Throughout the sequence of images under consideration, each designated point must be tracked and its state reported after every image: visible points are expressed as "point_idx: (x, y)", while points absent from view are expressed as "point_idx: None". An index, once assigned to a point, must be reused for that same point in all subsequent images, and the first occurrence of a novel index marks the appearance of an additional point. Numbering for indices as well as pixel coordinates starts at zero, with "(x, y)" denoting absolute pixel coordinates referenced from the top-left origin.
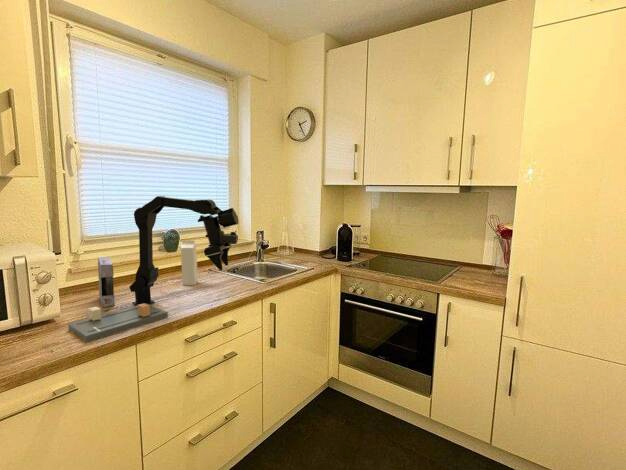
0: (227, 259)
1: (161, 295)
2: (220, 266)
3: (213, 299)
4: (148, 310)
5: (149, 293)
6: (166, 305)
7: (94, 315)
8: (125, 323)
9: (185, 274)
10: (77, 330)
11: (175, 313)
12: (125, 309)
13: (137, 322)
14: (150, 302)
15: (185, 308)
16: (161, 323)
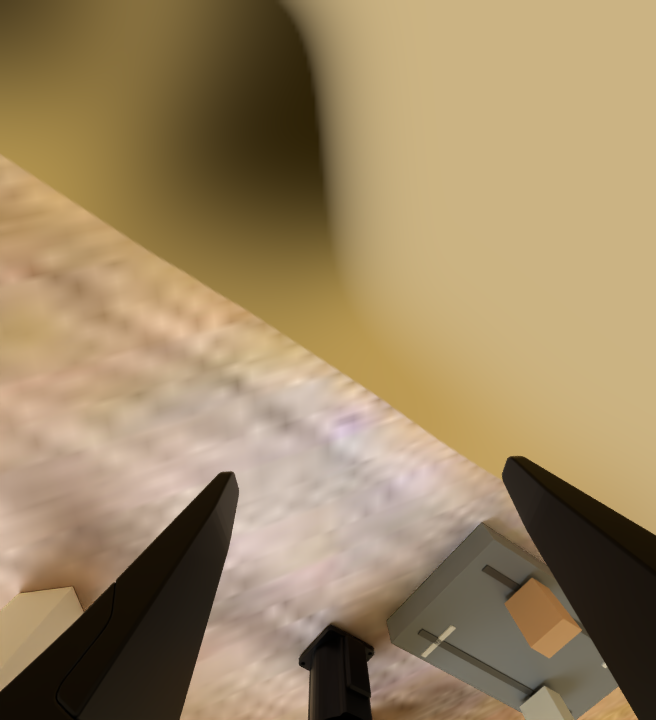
0: (195, 536)
1: (240, 640)
2: (570, 500)
3: (274, 438)
4: (550, 599)
5: (352, 686)
6: (356, 577)
7: (570, 716)
8: None
9: None
10: (613, 688)
11: (443, 514)
12: (453, 669)
13: None
14: (347, 636)
15: (390, 503)
16: None
